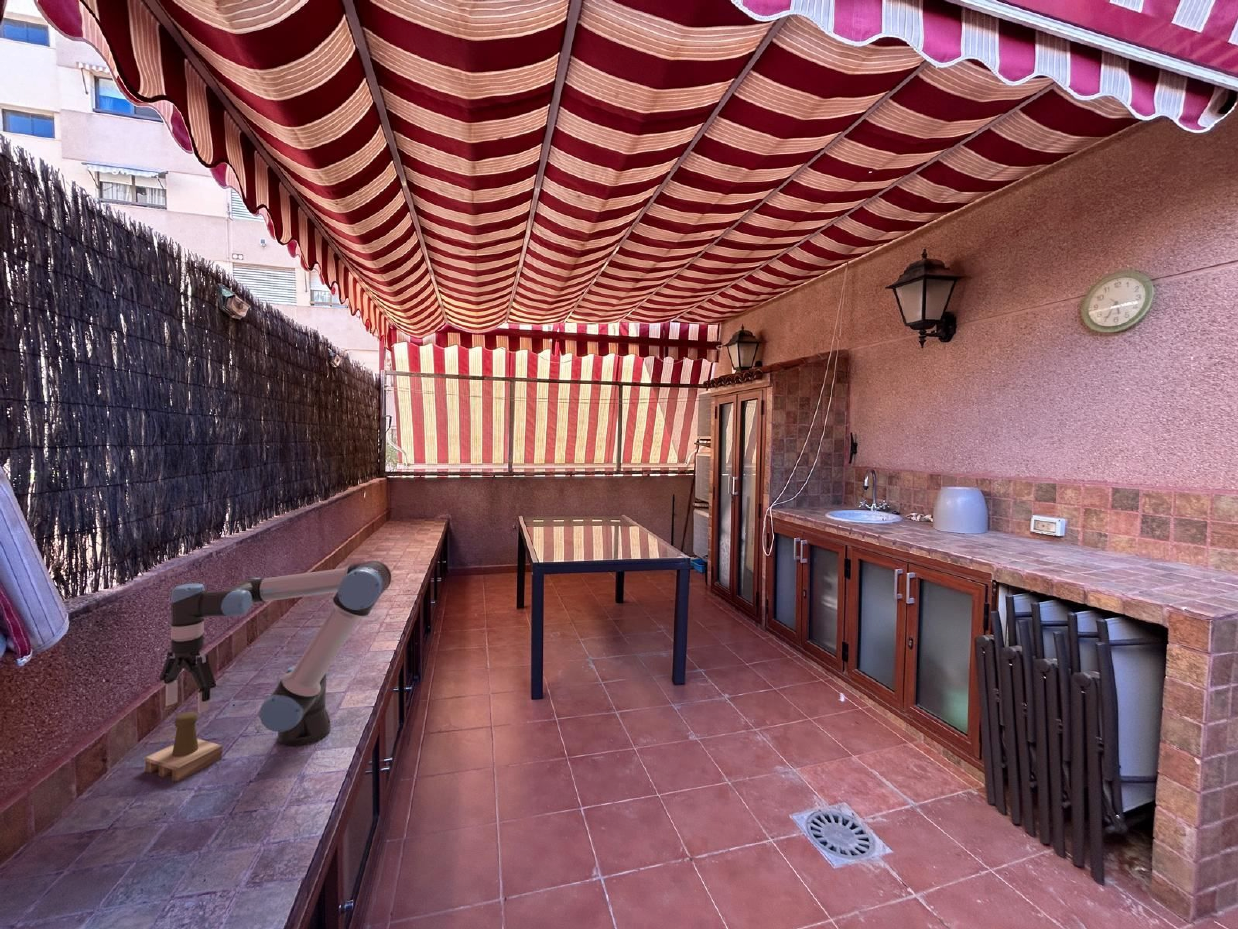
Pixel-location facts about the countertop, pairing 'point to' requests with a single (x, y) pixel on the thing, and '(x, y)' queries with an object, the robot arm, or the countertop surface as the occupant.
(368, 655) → the countertop surface
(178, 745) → the cork
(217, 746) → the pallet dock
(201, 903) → the countertop surface
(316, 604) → the countertop surface
